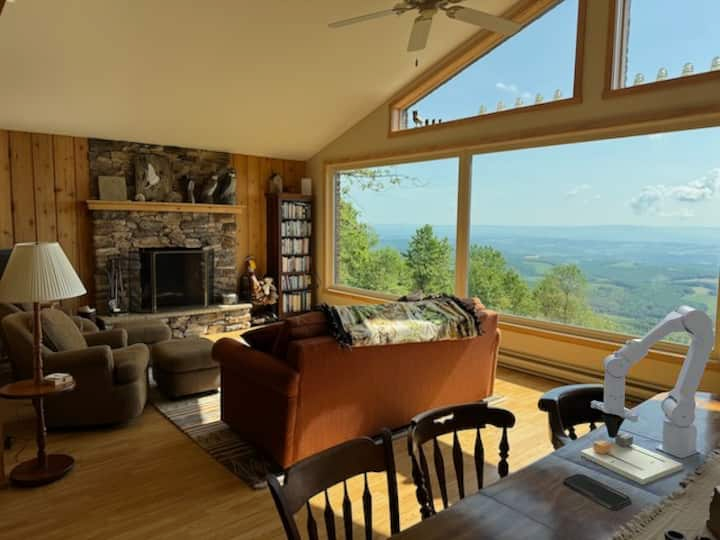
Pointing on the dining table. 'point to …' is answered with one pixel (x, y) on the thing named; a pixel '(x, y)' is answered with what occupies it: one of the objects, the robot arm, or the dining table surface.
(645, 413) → the dining table surface
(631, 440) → the block
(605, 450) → the fader orange
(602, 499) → the phone
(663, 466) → the board
